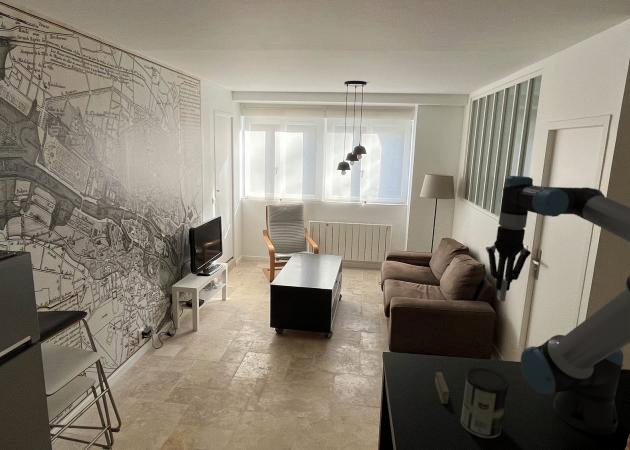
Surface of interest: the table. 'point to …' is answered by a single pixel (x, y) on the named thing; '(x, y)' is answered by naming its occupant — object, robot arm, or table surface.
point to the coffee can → (484, 402)
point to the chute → (442, 388)
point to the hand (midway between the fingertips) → (500, 299)
